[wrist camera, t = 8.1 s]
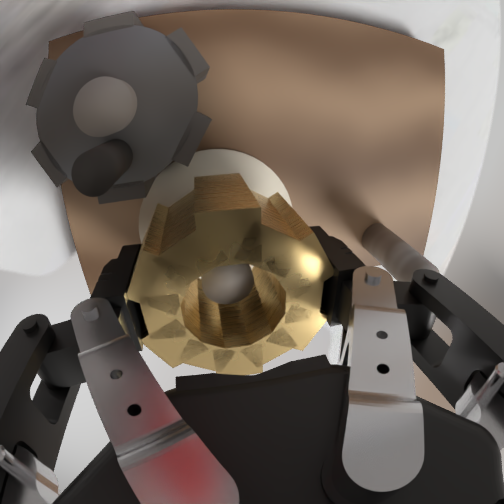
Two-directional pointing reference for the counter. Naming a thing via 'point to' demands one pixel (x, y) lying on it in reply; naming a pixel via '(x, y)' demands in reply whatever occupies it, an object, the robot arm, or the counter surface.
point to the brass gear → (223, 254)
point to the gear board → (244, 128)
